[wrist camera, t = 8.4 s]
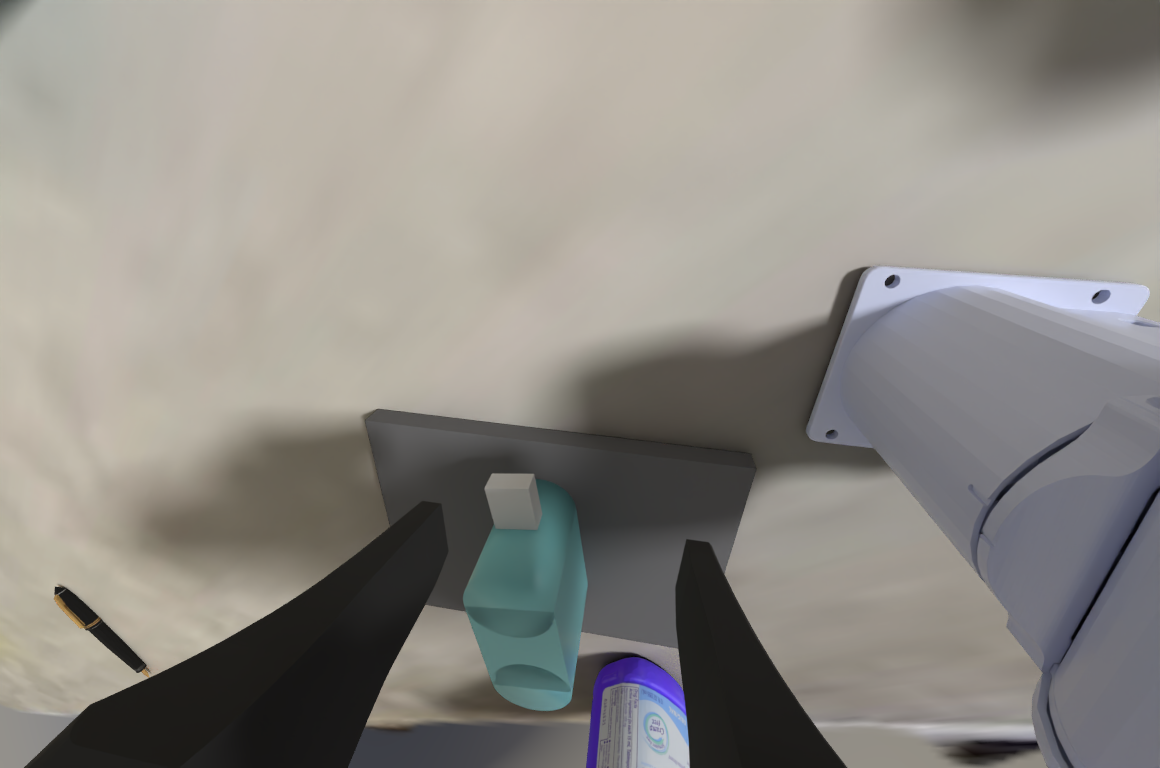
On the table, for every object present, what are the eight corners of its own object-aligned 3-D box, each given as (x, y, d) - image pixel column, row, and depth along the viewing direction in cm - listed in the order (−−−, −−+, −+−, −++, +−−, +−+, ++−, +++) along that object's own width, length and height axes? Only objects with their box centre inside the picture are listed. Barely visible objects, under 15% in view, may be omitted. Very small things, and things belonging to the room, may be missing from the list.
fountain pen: (161, 672, 44) (146, 687, 43) (153, 671, 44) (138, 686, 43) (68, 580, 38) (47, 595, 36) (59, 580, 38) (37, 595, 37)
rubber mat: (750, 453, 21) (756, 468, 20) (698, 633, 28) (700, 652, 26) (378, 409, 23) (364, 420, 22) (416, 586, 30) (407, 601, 29)
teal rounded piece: (565, 441, 20) (536, 535, 15) (590, 604, 26) (576, 714, 21) (489, 441, 21) (437, 531, 16) (530, 600, 27) (500, 706, 21)
